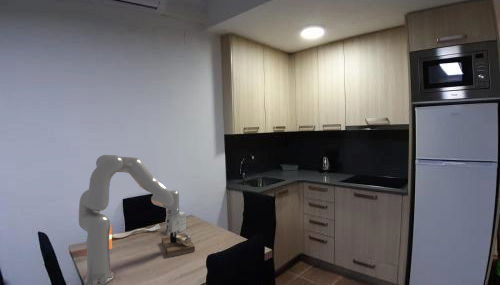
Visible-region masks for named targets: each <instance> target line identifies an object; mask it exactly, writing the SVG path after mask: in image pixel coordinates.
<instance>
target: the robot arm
mask: <svg viewBox="0 0 500 285" xmlns="http://www.w3.org/2000/svg"><path fill="white" fill-rule="evenodd" d="M95 161H96V162H95V163H96V164H95V165H96V168H95V169H94V170H93V171H92V173H91V175H90V178H89V186H88V189H87V190H85V191H84V192H83V193H82V194H81V196H80V198H79V204H78V205H79V206H78V225H79V227H80V228H81V229H82V230H83V231H85V232H87V237H86V243H85V244H86V246H85V248H86V268H87V269H86V271H87V276H86V277H85V279H84V280H83V285H106V284H108V283H109V282H111V281H112V280H113V279H114V278H115V273H114V272H113V271H112V270H111V249H110V245H109V234H110V226H111V227H112V224H111V221H110V219H109V217H108V216H107V215H106V214H103V213H101V212H103V211H105V210H106V209H107V208H108V206H109V201H110V185H111V180H112V178H113V176H114V175H115V174H116V173H127V174H129V175H130V176H131V177H132V178H133V180H134V181H135V182H136V184H138V186H139V188H141V189H143V190H144V191H146V192H148V193H150V194H151V195H152V196H151V197H150V200H151V203H152V204H153V205H155V206H158V207H161V208H165V212H166V213H165V214H166V216H165V224H164V226H165V232H166V236H170V242H171V243H175V242H176V235H178V232H177V231H178V230H179V229H180V228H181V216H180V213H179V211H180V192H179V191H178V190H168V188H167V187H166V185H164V184H162V182H161V181H159V180H158V179H157V178H156V177H155V176H153V174H152V173H151V171H149V169H148V167H146V165H145V164H144V162H143V161H142V160H141V159H140V158H137V157H131V156H120V155H119V156H118V155H116V154H115V155H114V154H102V155H100V156H99V157H97V159H96V160H95Z"/></svg>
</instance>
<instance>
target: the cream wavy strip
mask: <svg viewBox="0 0 500 285" xmlns="http://www.w3.org/2000/svg"><path fill="white" fill-rule="evenodd" d="M158 230H162V227H161V226H160V223H158V224H156V225H154V226H152V227H150V228H136V229H134V230H131V231H126V232H119V233H113V234H112V233H111V234H112V239H123V238H126V237H128V236H130V235H131V234H133V233H135V232H139V231H147V232H155V231H158Z"/></svg>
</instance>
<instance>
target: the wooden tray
mask: <svg viewBox="0 0 500 285" xmlns="http://www.w3.org/2000/svg"><path fill="white" fill-rule="evenodd" d="M177 235H179V236H182V237H186V238H189V239H191V235H190V234H189V233H188V232H184V233H177ZM191 240H192V239H191ZM161 244H162V246H163V248H164V251H165V254H166V255H167V257H168V258H171V257H172V258H173V257H176V256H181V255H185V253H186V254H189V252H191V253H194V251H196V249H195V248H196V247H195V245H194V243H193V242H192V241H191V245H189V246H186V245H183V244H180V243H177V242H175V243H171V242H170V236H169V235H166V236H163V237H161ZM180 254H181V255H180Z"/></svg>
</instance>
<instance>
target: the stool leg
mask: <svg viewBox="0 0 500 285" xmlns="http://www.w3.org/2000/svg"><path fill="white" fill-rule="evenodd" d="M176 242H177V243H180V244H183V245H186V246H189V245H191V242H192V239H189V238H186V237H182V236H179V235H178V234H177V235H176Z"/></svg>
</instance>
